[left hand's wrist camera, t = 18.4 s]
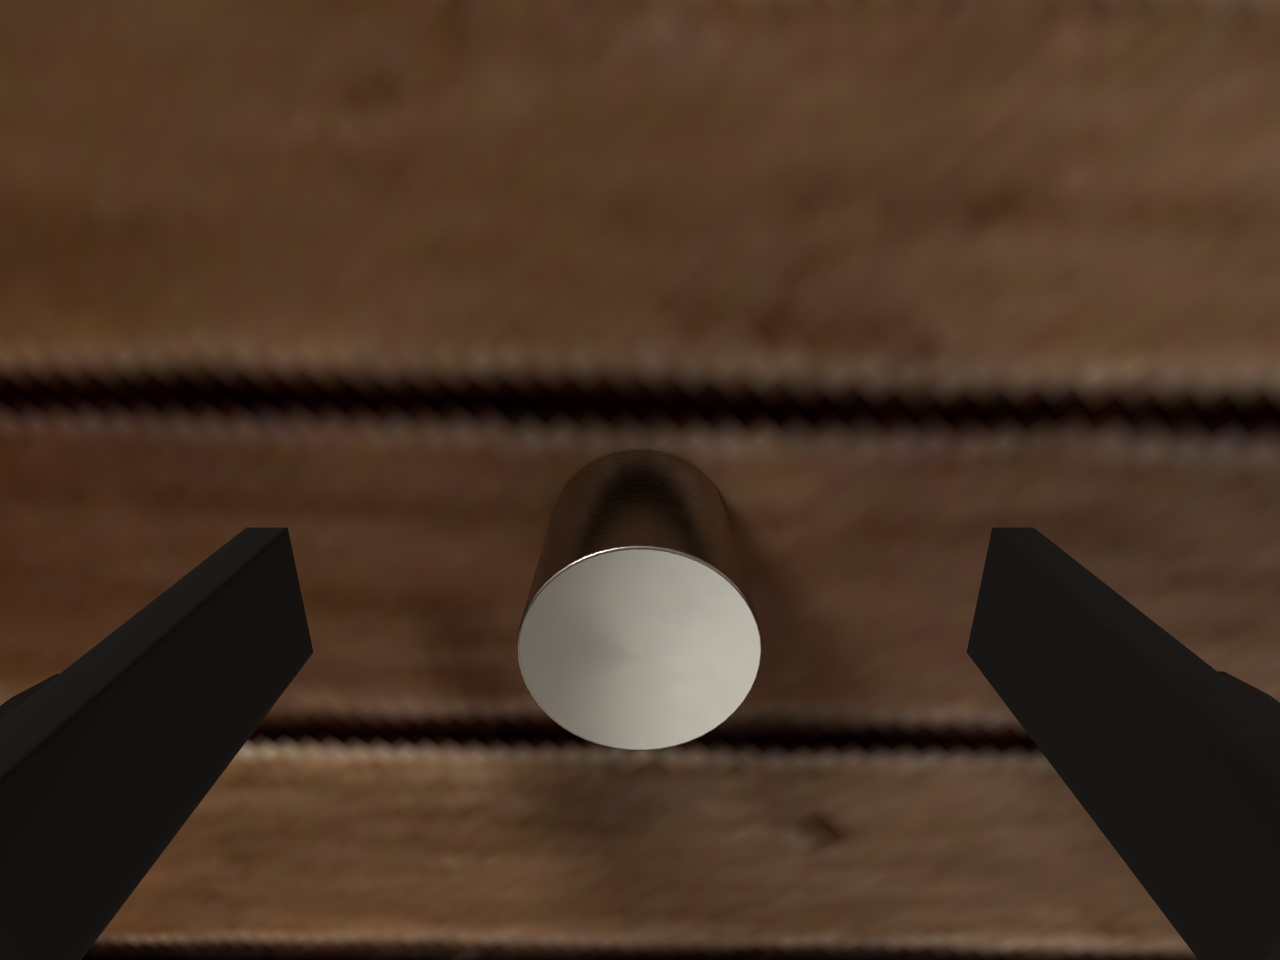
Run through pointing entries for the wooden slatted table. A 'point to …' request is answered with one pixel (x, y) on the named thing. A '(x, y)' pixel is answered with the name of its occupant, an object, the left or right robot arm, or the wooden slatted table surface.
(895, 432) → the wooden slatted table surface
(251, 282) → the wooden slatted table surface
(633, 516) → the tin
